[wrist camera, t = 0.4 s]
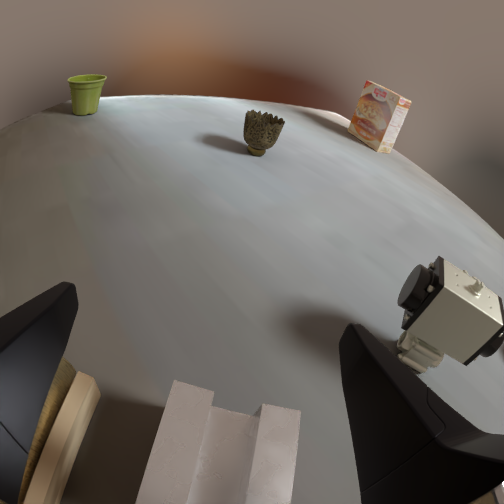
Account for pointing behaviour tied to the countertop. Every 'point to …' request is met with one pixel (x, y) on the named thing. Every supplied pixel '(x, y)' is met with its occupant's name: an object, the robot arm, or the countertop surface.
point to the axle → (47, 420)
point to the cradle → (220, 453)
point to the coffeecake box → (378, 117)
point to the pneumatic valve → (447, 317)
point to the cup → (261, 131)
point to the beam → (63, 442)
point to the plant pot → (85, 93)
